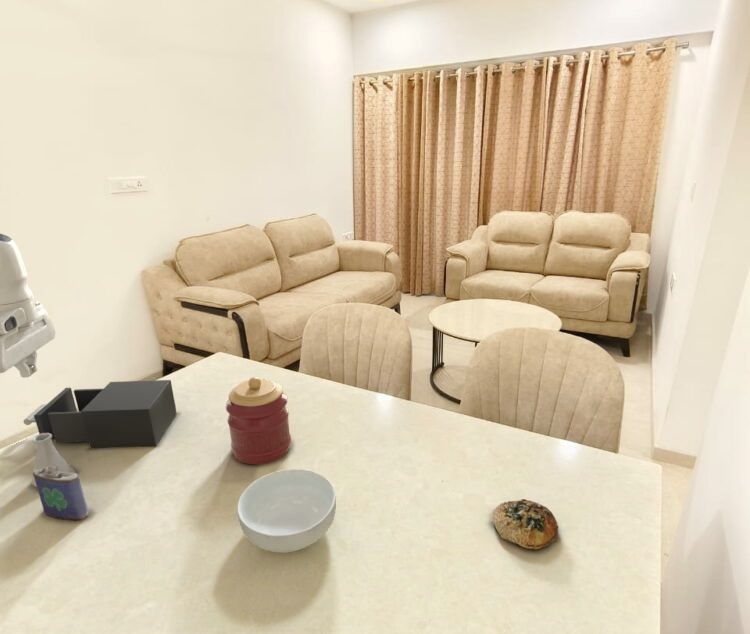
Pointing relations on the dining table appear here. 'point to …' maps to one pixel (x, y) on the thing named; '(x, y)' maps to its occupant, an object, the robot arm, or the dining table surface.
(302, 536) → the cereal bowl
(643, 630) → the dining table surface
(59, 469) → the flask
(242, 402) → the kitchen canister
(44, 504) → the flask
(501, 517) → the bread roll
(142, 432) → the dark grey box
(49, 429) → the open drawer
